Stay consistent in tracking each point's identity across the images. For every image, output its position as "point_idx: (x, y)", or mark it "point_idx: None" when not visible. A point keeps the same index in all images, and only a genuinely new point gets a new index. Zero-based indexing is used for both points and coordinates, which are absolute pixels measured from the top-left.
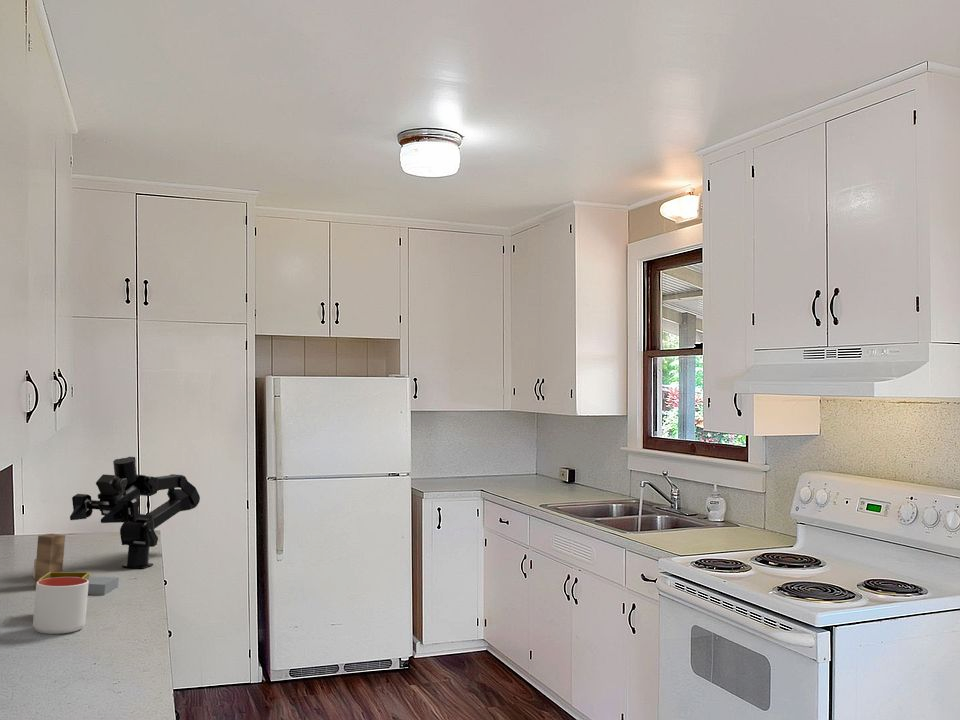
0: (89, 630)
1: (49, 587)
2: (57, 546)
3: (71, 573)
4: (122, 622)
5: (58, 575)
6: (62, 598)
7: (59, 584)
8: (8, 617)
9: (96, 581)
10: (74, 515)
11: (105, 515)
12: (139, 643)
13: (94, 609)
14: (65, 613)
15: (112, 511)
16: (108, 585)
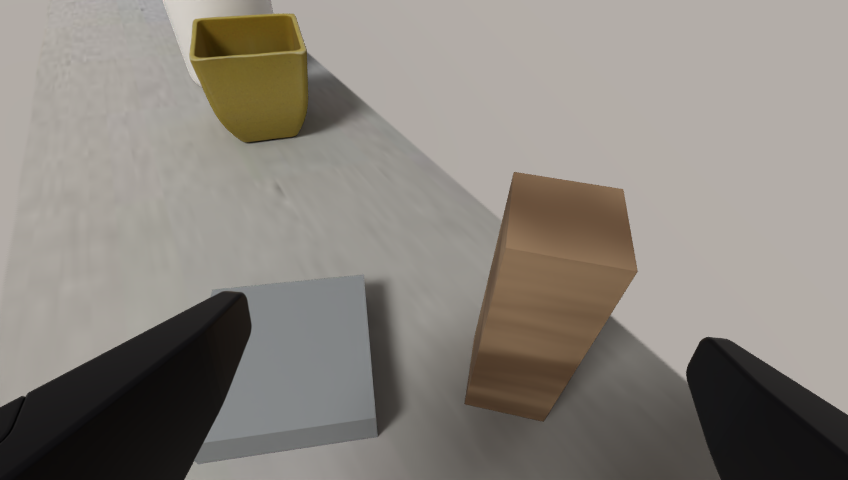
0: (181, 79)
1: None
2: (498, 249)
3: (243, 56)
4: (120, 117)
5: (281, 60)
6: None
7: (236, 11)
8: (370, 107)
9: (266, 329)
10: (738, 401)
11: (178, 336)
12: (80, 52)
13: (210, 175)
14: None
15: (6, 429)
16: None
